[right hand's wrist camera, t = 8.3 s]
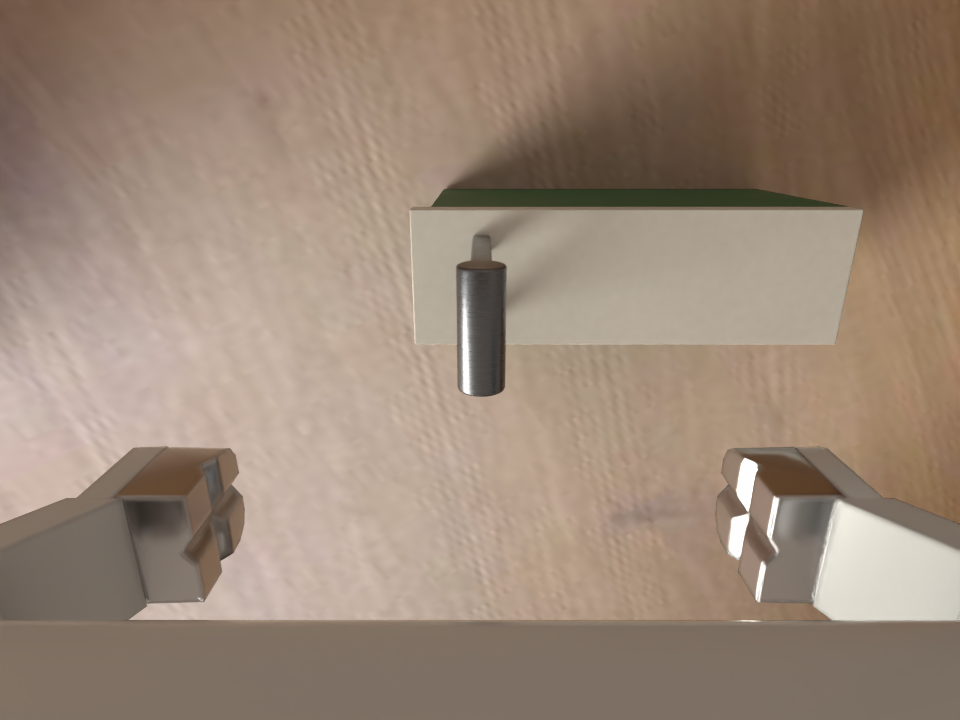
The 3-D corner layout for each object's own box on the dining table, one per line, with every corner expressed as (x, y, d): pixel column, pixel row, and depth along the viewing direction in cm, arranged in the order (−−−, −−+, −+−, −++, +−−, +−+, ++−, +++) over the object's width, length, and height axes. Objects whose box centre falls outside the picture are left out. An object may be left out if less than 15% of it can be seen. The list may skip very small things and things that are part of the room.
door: (417, 337, 26) (389, 422, 19) (412, 206, 25) (378, 239, 17) (823, 337, 26) (968, 423, 19) (850, 206, 24) (1025, 239, 17)
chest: (445, 289, 35) (434, 336, 27) (443, 189, 33) (430, 206, 25) (741, 289, 35) (822, 337, 26) (756, 188, 33) (849, 206, 25)
